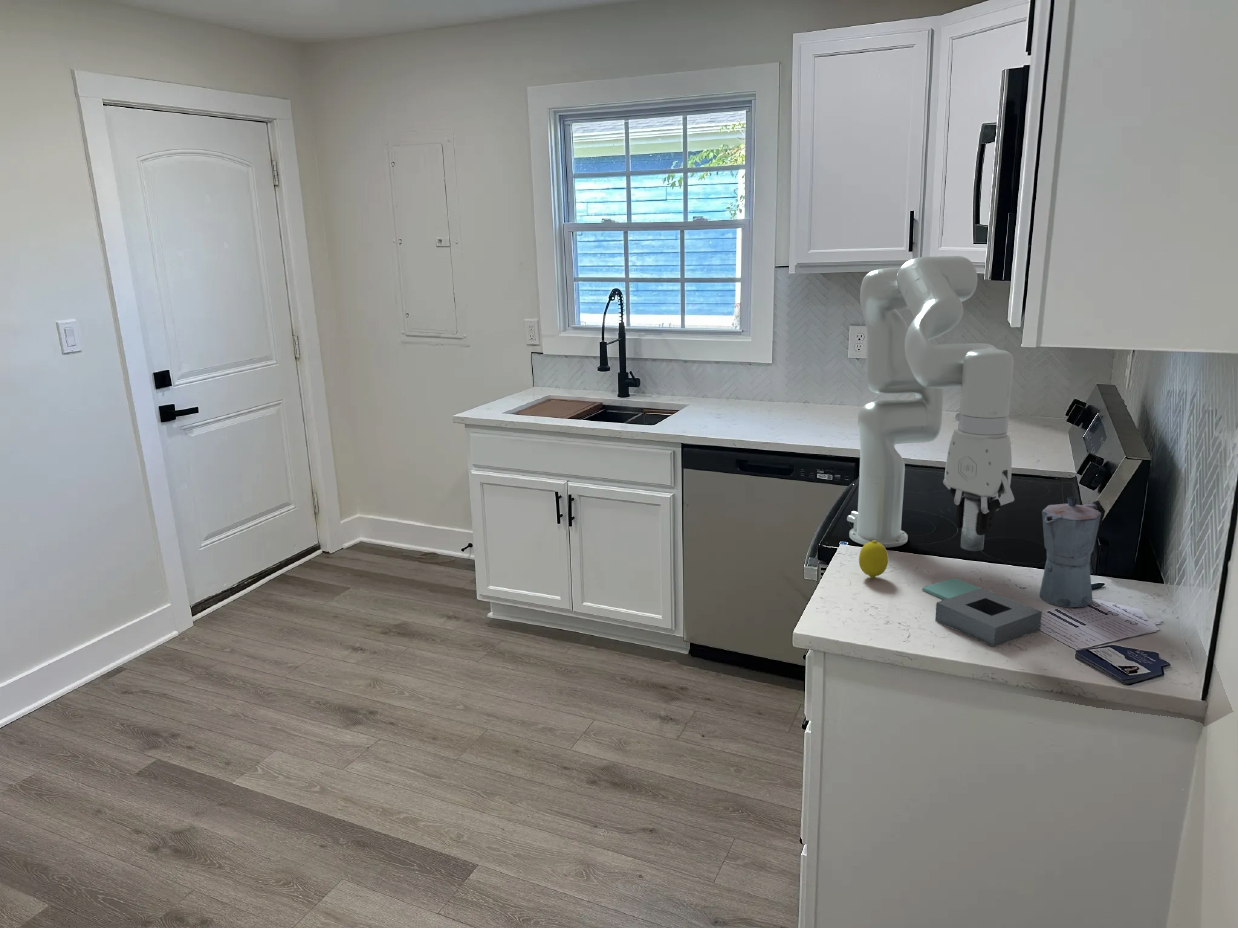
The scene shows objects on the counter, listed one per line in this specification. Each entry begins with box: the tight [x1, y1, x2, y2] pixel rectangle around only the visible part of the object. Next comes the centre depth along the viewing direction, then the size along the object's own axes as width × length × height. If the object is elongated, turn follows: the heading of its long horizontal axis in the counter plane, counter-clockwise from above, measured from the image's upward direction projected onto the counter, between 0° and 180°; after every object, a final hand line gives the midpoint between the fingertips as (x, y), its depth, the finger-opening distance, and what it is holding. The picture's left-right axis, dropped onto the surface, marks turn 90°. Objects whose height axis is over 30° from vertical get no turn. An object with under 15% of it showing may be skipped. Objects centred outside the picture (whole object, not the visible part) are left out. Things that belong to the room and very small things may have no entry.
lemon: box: [858, 540, 889, 579], centre depth 168 cm, size 6×6×8 cm
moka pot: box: [1039, 496, 1106, 608], centre depth 155 cm, size 10×15×20 cm, turn 119°
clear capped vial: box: [960, 491, 985, 552], centre depth 143 cm, size 4×4×10 cm
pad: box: [921, 577, 981, 600], centre depth 161 cm, size 9×9×1 cm
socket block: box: [934, 587, 1043, 648], centre depth 147 cm, size 12×12×4 cm
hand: (973, 529), depth 144 cm, fingers closed on clear capped vial, 3 cm apart
